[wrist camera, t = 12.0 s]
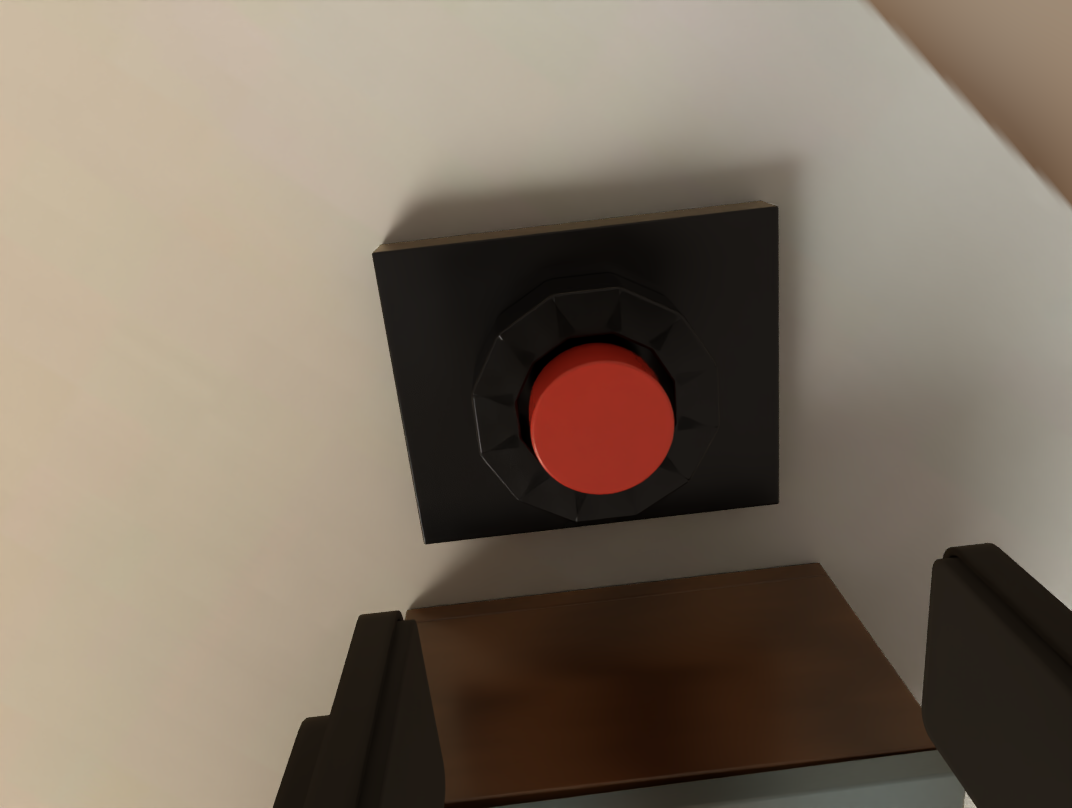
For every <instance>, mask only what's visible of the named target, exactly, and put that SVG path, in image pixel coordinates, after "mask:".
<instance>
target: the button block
mask: <svg viewBox="0 0 1072 808" xmlns="http://www.w3.org/2000/svg"><path fill="white" fill-rule="evenodd" d="M372 257H373V262H374V268H375V273H376V279H377V285H378V290H379V296H380V301H381V307H382V312H383V318H384V324H385V329H386V335H387V340H388V346H389V351H390V357H391V362H392V368H393V374H394V379H395V385H396V390H397V396H398V401H399V407H400V413H401V418H402V424H403V429H404V435H405V440H406V446H407V451H408V457H409V463H410V468H411V474H412V479H413V485H414V490H415V496H416V502H417V507H418V513H419V518H420V524H421V529H422V535H423V540H424V544H432V543H441V542H450V541H459V540H467V539H476V538H485V537H493V536H502V535H511V534H519V533H528V532H537V531H546V530H554V529H563V528H572V527H580V526H589V525H598V524H606V523H615V522H624V521H633V520H641V519H650V518H659V517H667V516H676V515H685V514H693V513H702V512H711V511H720V510H728V509H737V508H746V507H754V506H763V505H772V504H778V503H779V224H778V206H775V205H772V204H769V203H766V202H763V201H753V202H744V203H736V204H727V205H718V206H710V207H701V208H692V209H684V210H675V211H666V212H658V213H649V214H640V215H632V216H623V217H614V218H606V219H597V220H589V221H580V222H571V223H563V224H554V225H545V226H537V227H528V228H519V229H511V230H502V231H493V232H485V233H476V234H467V235H459V236H450V237H441V238H433V239H424V240H415V241H407V242H398V243H389V244H381V245H380V246H379V247H378V248H377V249H376V250H375V251H374V252H373V253H372ZM587 343H610V344H614V345H618V346H621V347H624V348H626V349H628V350H630V351H632V352H634V353H635V354H637V355H638V356H640V357H641V358H642V359H643V360H644V361H645V362H646V363H647V364H648V365H649V366H650V367H651V369H652V370H653V372H654V373H655V375H656V377H657V378H658V380H659V382H660V383H661V385H662V387H663V389H664V390H665V392H666V394H667V395H668V398H669V400H670V402H671V405H672V409H673V412H674V421H675V424H674V435H673V440H672V443H671V447H670V449H669V451H668V453H667V455H666V457H665V459H664V460H663V462H662V463H661V465H660V466H659V467H658V468H657V470H656V471H655V472H654V473H652V474H651V475H650V476H649V477H648V478H647V479H645V480H644V481H643V482H641V483H639V484H638V485H636V486H634V487H632V488H629V489H627V490H624V491H621V492H617V493H612V494H601V495H598V494H588V493H582V492H579V491H576V490H573V489H570V488H568V487H566V486H564V485H562V484H561V483H559V482H558V481H556V480H555V479H554V478H553V477H551V476H550V475H549V474H548V473H547V472H546V470H545V469H544V468H543V467H542V465H541V464H540V462H539V460H538V459H537V457H536V455H535V452H534V449H533V446H532V441H531V433H530V421H529V398H530V394H531V390H532V387H533V385H534V382H535V380H536V378H537V377H538V375H539V373H540V372H541V371H542V369H543V368H544V367H545V366H546V365H547V364H548V363H549V362H550V361H551V360H552V359H553V358H555V357H556V356H557V355H559V354H560V353H562V352H564V351H566V350H568V349H570V348H572V347H575V346H578V345H582V344H587Z"/></svg>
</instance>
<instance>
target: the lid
mask: <svg viewBox="0 0 1072 808" xmlns="http://www.w3.org/2000/svg"><path fill="white" fill-rule="evenodd" d="M964 798H965V789H964V788H963V786H962V785H961V784H960V782H959V781H958V779H957V778H956V776H955V775H954V773H953V772H952V770H951V769H950V767H949V766H948V764H947V763H946V762H945V760H944V759H943V757H942V756H941V754H940V753H939V751H938V750H931V751H923V752H915V753H908V754H900V755H892V756H884V757H877V758H869V759H861V760H853V761H846V762H838V763H830V764H822V765H815V766H807V767H799V768H791V769H784V770H776V771H768V772H760V773H753V774H745V775H737V776H729V777H722V778H714V779H706V780H698V781H691V782H683V783H675V784H667V785H660V786H652V787H644V788H636V789H629V790H621V791H613V792H605V793H598V794H590V795H582V796H574V797H567V798H559V799H551V800H543V801H536V802H528V803H520V804H512V805H505V806H497V807H489V808H964Z"/></svg>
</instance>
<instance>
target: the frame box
mask: <svg viewBox="0 0 1072 808" xmlns="http://www.w3.org/2000/svg"><path fill="white" fill-rule="evenodd" d="M411 619H414V620H415V621H416V623H417V627H418V632H419V637H420V642H421V647H422V653H423V658H424V663H425V668H426V673H427V679H428V684H429V689H430V694H431V700H432V705H433V710H434V715H435V721H436V726H437V731H438V736H439V741H440V747H441V752H442V757H443V762H444V769H445V803H444V808H489V807H497V806H505V805H512V804H520V803H528V802H536V801H543V800H551V799H559V798H567V797H574V796H582V795H590V794H598V793H605V792H613V791H621V790H629V789H636V788H644V787H652V786H660V785H667V784H675V783H683V782H691V781H698V780H706V779H714V778H722V777H729V776H737V775H745V774H753V773H760V772H768V771H776V770H784V769H791V768H799V767H807V766H815V765H822V764H830V763H838V762H846V761H853V760H861V759H869V758H877V757H884V756H892V755H900V754H908V753H915V752H923V751H931V750H937V748H936V747H935V745H934V744H933V742H932V741H931V740H930V738H929V736H928V734H927V732H926V730H925V727H924V723H923V719H922V708H921V706H920V705H919V703H918V702H917V700H916V699H915V698H914V696H913V695H912V693H911V692H910V691H909V689H908V688H907V686H906V685H905V683H904V682H903V681H902V679H901V678H900V676H899V675H898V674H897V672H896V671H895V669H894V668H893V666H892V665H891V664H890V662H889V661H888V659H887V658H886V657H885V655H884V654H883V652H882V651H881V650H880V648H879V647H878V645H877V644H876V642H875V641H874V640H873V638H872V637H871V635H870V634H869V633H868V631H867V630H866V628H865V627H864V625H863V624H862V623H861V621H860V620H859V618H858V617H857V616H856V614H855V613H854V611H853V610H852V608H851V607H850V606H849V604H848V603H847V601H846V600H845V599H844V597H843V596H842V594H841V593H840V591H839V590H838V589H837V587H836V586H835V584H834V583H833V582H832V580H831V579H830V577H829V576H828V575H827V573H826V572H825V570H824V569H823V567H822V566H821V565H820V563H811V564H803V565H794V566H785V567H777V568H768V569H759V570H750V571H742V572H733V573H724V574H716V575H707V576H698V577H689V578H681V579H672V580H663V581H655V582H646V583H637V584H629V585H620V586H611V587H602V588H594V589H585V590H576V591H568V592H559V593H550V594H541V595H533V596H524V597H515V598H507V599H498V600H489V601H480V602H472V603H463V604H454V605H446V606H437V607H428V608H420V609H411V610H407V612H406V617H405V620H411Z"/></svg>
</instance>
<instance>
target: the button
mask: <svg viewBox="0 0 1072 808" xmlns="http://www.w3.org/2000/svg"><path fill="white" fill-rule="evenodd" d="M529 421H530V433H531V441H532V446H533V449H534V452H535V455H536V457H537V459H538V460H539V462H540V464H541V465H542V467H543V468H544V469H545V470H546V472H547V473H548V474H549V475H550V476H551V477H553V478H554V479H555V480H556V481H558V482H559V483H561V484H562V485H564V486H566V487H568V488H570V489H573V490H576V491H579V492H582V493H588V494H598V495H601V494H612V493H617V492H621V491H624V490H627V489H629V488H632V487H634V486H636V485H638V484H639V483H641V482H643V481H644V480H645V479H647V478H648V477H649V476H650V475H651V474H652V473H654V472H655V471H656V470H657V468H658V467H659V466H660V465H661V463H662V462H663V460H664V459H665V457H666V455H667V453H668V451H669V449H670V447H671V443H672V440H673V435H674V424H675V421H674V412H673V409H672V405H671V402H670V400H669V398H668V395H667V394H666V392H665V390H664V389H663V387H662V385H661V383H660V382H659V380H658V378H657V377H656V375H655V373H654V372H653V370H652V369H651V367H650V366H649V365H648V364H647V363H646V362H645V361H644V360H643V359H642V358H641V357H640V356H638V355H637V354H635V353H634V352H632V351H630V350H628V349H626V348H624V347H621V346H618V345H614V344H610V343H587V344H582V345H578V346H575V347H572V348H570V349H568V350H566V351H564V352H562V353H560V354H559V355H557V356H556V357H555V358H553V359H552V360H551V361H550V362H549V363H548V364H547V365H546V366H545V367H544V368H543V369H542V371H541V372H540V373H539V375H538V377H537V378H536V380H535V382H534V385H533V387H532V390H531V394H530V398H529Z"/></svg>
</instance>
